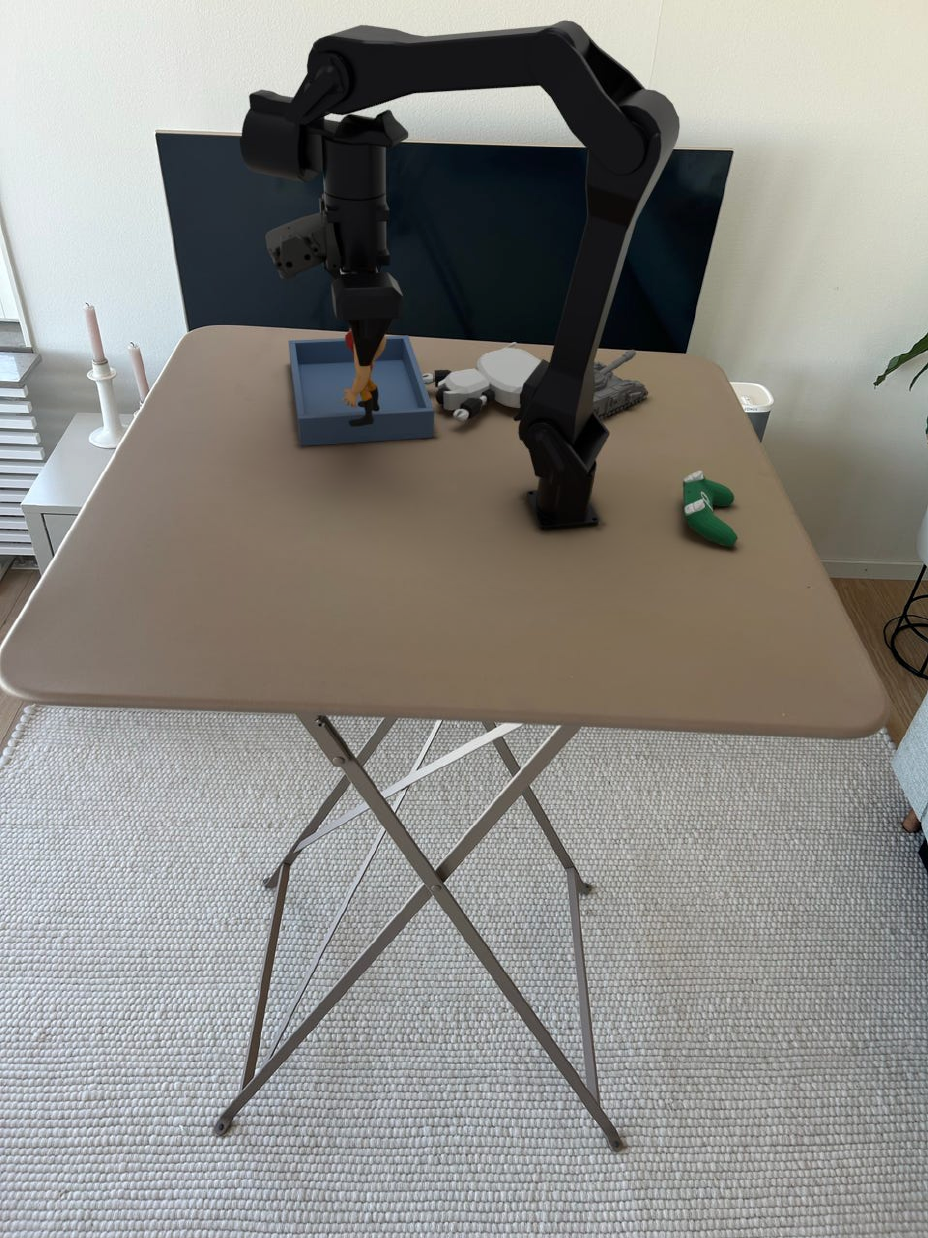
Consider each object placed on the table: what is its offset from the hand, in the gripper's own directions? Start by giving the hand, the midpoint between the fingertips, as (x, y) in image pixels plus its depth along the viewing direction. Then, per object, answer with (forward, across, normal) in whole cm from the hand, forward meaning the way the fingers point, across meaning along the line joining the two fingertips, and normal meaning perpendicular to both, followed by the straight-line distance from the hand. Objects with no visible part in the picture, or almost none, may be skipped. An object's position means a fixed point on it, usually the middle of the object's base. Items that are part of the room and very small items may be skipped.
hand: (359, 348), depth 92 cm
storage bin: (+13, -13, +1) cm, 18 cm away
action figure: (+9, 0, 0) cm, 9 cm away
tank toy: (+13, -9, +31) cm, 35 cm away
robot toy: (+13, -10, +17) cm, 24 cm away
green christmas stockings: (+13, +18, +35) cm, 41 cm away
